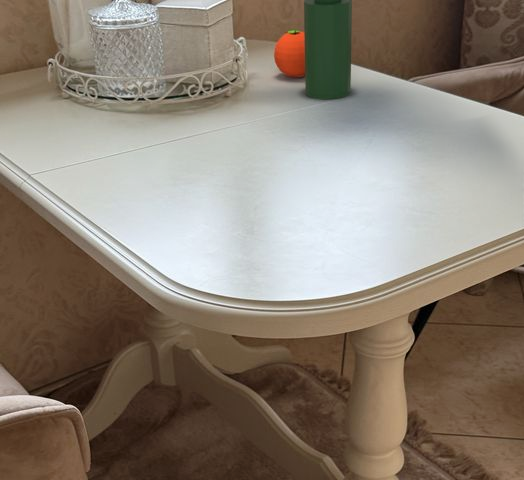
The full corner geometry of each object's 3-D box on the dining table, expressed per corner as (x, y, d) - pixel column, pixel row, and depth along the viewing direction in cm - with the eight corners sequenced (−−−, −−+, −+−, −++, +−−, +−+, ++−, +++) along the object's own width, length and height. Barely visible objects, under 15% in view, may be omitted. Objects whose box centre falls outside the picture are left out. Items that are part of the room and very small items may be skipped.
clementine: (266, 73, 131) (264, 27, 127) (304, 67, 133) (303, 22, 129) (284, 84, 124) (283, 37, 120) (324, 78, 126) (324, 31, 122)
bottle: (349, 85, 123) (350, -36, 113) (351, 98, 117) (353, -28, 107) (305, 87, 123) (303, -34, 113) (305, 100, 117) (303, -26, 108)
